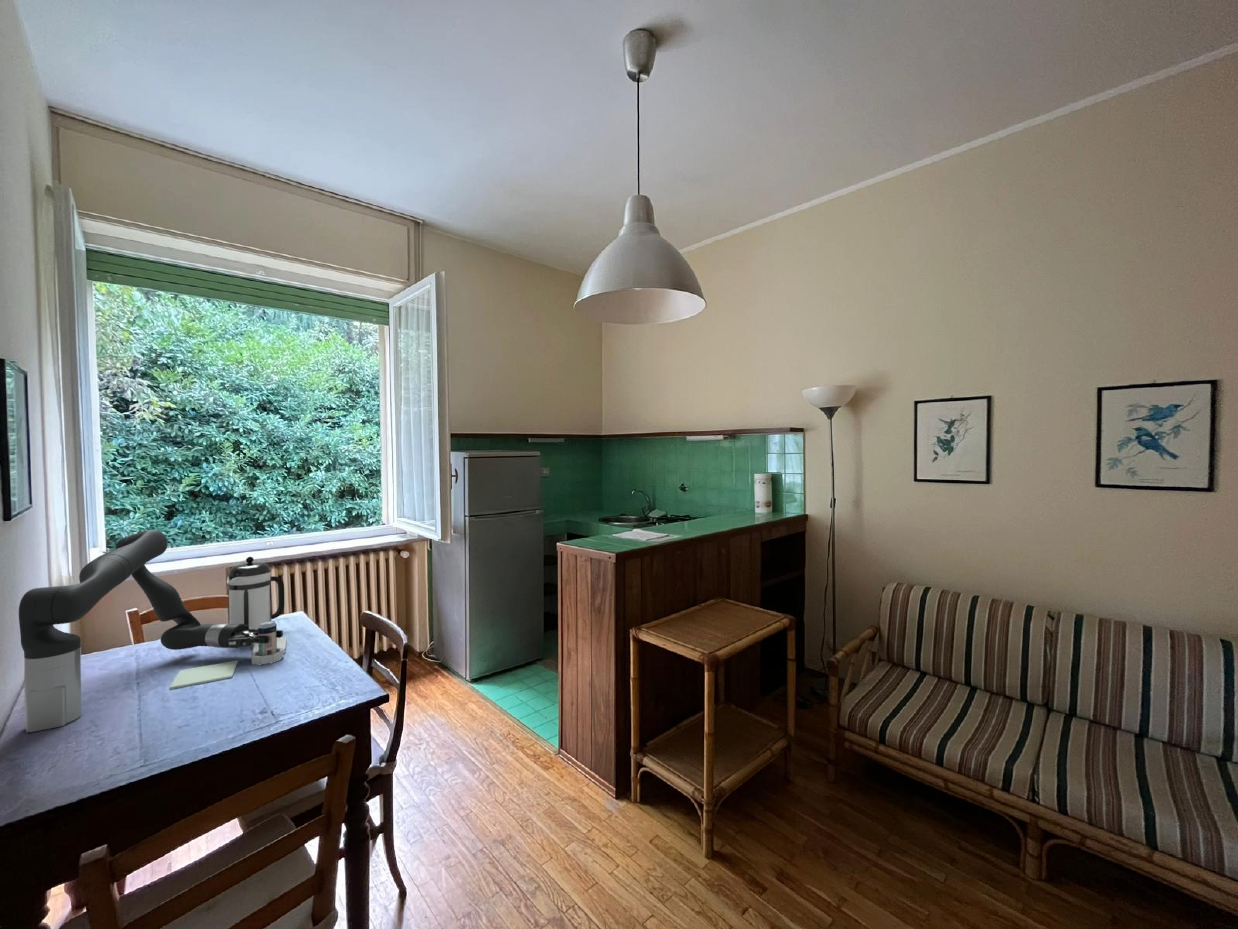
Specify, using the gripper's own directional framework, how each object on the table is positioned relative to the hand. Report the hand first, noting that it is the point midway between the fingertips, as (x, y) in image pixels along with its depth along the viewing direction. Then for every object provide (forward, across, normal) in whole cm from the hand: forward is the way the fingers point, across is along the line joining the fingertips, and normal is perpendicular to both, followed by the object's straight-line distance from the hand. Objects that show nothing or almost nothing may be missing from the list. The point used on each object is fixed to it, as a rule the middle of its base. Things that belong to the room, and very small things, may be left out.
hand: (275, 636), depth 160 cm
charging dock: (-7, +5, +8) cm, 11 cm away
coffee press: (-25, +19, +8) cm, 33 cm away
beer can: (-3, 0, +8) cm, 8 cm away
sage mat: (-12, -12, +8) cm, 19 cm away
